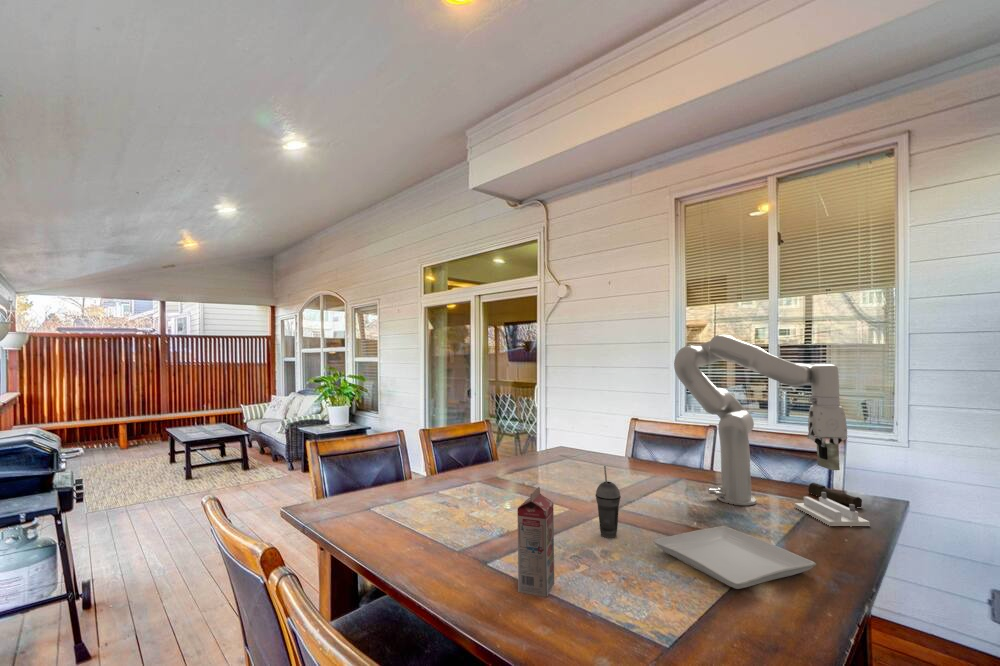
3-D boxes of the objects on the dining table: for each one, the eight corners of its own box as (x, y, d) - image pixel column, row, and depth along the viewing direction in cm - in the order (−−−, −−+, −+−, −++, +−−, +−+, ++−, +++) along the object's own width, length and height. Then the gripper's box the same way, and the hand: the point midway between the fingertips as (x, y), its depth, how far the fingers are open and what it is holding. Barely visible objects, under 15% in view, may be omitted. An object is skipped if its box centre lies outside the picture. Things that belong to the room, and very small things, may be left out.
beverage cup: (607, 542, 135) (605, 471, 135) (590, 533, 141) (589, 465, 142) (626, 537, 138) (625, 468, 139) (610, 529, 144) (608, 463, 145)
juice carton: (518, 592, 107) (517, 493, 108) (527, 578, 113) (526, 485, 114) (546, 597, 105) (545, 495, 106) (554, 583, 111) (553, 487, 112)
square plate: (738, 601, 103) (737, 582, 103) (650, 553, 128) (650, 538, 128) (818, 576, 114) (818, 560, 114) (723, 536, 139) (723, 523, 139)
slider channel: (830, 526, 145) (829, 507, 146) (794, 507, 163) (794, 490, 164) (869, 526, 145) (868, 507, 145) (829, 507, 163) (829, 490, 163)
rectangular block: (832, 470, 151) (830, 444, 152) (817, 465, 158) (816, 440, 159) (839, 470, 151) (838, 444, 152) (824, 465, 158) (823, 440, 159)
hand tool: (863, 508, 162) (863, 495, 162) (854, 509, 161) (853, 496, 161) (814, 493, 181) (814, 481, 181) (806, 494, 180) (805, 481, 180)
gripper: (808, 403, 152) (810, 461, 151) (858, 402, 152) (861, 461, 151) (794, 401, 160) (796, 456, 159) (842, 400, 159) (844, 456, 159)
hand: (827, 458), depth 155 cm, fingers closed on rectangular block, 2 cm apart
